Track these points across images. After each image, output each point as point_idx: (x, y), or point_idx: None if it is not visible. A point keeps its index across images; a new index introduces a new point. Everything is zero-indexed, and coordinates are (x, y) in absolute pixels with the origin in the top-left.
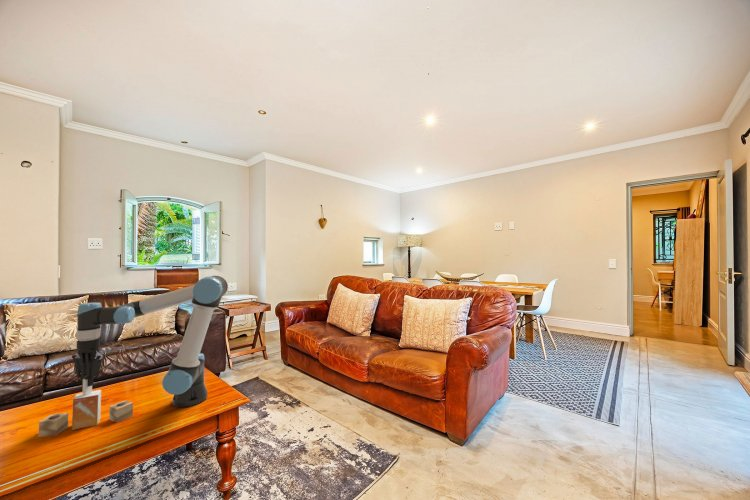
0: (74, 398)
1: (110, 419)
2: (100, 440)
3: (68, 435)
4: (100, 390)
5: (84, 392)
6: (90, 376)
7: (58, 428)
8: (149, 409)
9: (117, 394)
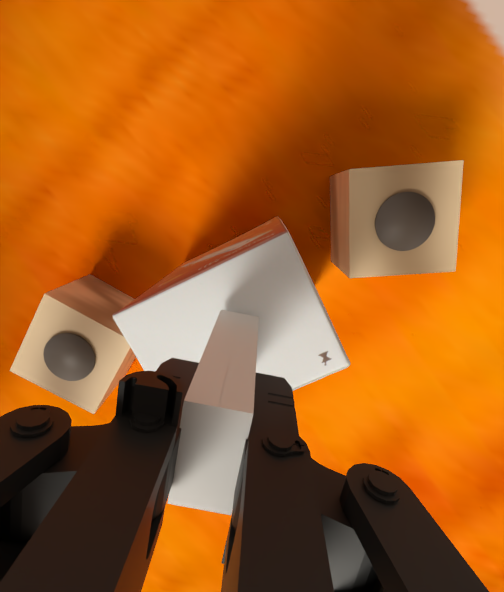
0: (287, 249)
1: None
2: (26, 79)
3: (256, 163)
4: None
5: (232, 319)
6: (69, 432)
7: (335, 189)
8: (21, 396)
9: None
